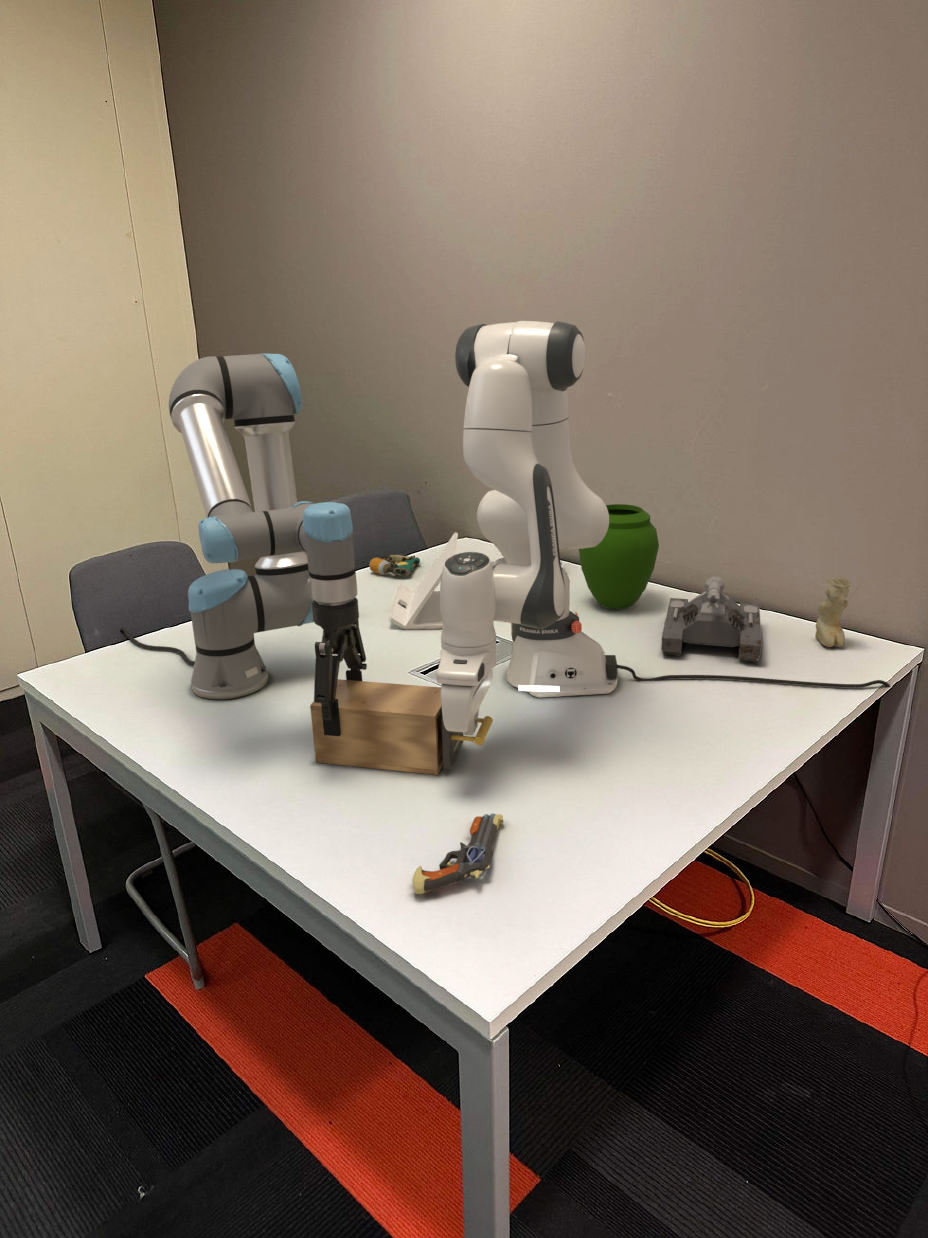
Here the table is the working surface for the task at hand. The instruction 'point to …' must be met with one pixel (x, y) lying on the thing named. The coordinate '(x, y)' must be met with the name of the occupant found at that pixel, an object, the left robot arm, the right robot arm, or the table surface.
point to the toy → (713, 622)
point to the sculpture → (832, 613)
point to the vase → (621, 558)
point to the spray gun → (394, 564)
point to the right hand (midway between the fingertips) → (470, 731)
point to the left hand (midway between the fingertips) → (344, 719)
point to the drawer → (457, 739)
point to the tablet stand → (423, 597)
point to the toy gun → (462, 857)
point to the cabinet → (382, 727)
